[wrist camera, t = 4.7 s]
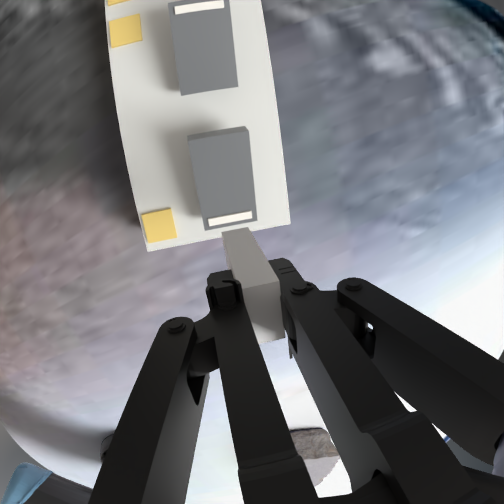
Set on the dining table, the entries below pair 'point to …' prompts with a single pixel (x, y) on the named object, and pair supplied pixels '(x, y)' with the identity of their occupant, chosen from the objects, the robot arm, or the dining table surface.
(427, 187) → the dining table surface
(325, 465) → the decorative stone
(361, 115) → the dining table surface
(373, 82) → the dining table surface
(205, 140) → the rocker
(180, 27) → the rocker middle
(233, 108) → the switch console
